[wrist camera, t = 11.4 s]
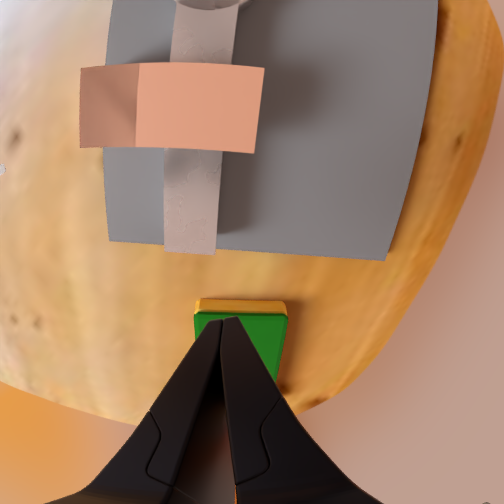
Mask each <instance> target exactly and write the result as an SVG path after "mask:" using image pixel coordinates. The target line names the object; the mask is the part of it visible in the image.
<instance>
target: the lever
mask: <svg viewBox="0 0 504 504" xmlns="http://www.w3.org/2000/svg"><path fill="white" fill-rule="evenodd" d="M174 1H175V3H176V4H177V5H176V13H175V20H174V28H173V36H172V45H171V54H170V62H185V63H213V64H229V65H232V60H233V51H234V43H235V35H236V27H237V19H238V13H239V12H240V11H242V10H244V9H245V8H246V7H248V6H249V5H250V4H251V3H252V2H253V1H254V0H174ZM222 161H223V151H218V150H203V149H185V148H164V248H165V252H179V253H193V254H207V255H215V252H216V242H217V229H218V214H219V200H220V186H221V174H222Z"/></svg>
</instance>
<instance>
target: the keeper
mask: <svg viewBox="0 0 504 504" xmlns="http://www.w3.org/2000/svg"><path fill="white" fill-rule="evenodd" d="M264 69H265V68H260V67H251V66H241V65H229V64H213V63H185V62H160V63H132V64H117V65H105V66H95V67H87V68H81V79H80V113H79V124H80V148H89V147H158V148H185V149H203V150H218V151H231V152H243V153H253V154H254V150H255V142H256V134H257V125H258V117H259V109H260V101H261V93H262V85H263V77H264Z"/></svg>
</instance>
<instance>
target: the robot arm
mask: <svg viewBox="0 0 504 504" xmlns="http://www.w3.org/2000/svg"><path fill="white" fill-rule="evenodd" d="M149 410H150V411H148V412H147V413H146V415H145V416H144V418H143V419H142V421H141V422H140V424H139V425H138V426H137V428H136V429H135V431H134V432H133V434H132V435H131V437H129V439H128V440H127V441H126V443H125V444H124V445H123V446H122V447H121V449H120V450H119V451H118V452H117V453H116V455H115V456H114V457H113V458H112V459H111V460H110V461H109V463H108V464H107V465H106V466H105V467H104V468H103V470H102V471H101V472H100V473H99V474H98V475H97V476H96V478H95V479H94V480H93V481H92V482H91V483H90V484H89V485H87V486H86V487H85V488H84V489H82V490H81V491H79V492H77V493H75V494H72V495H69V496H66V497H63V498H61V499H57V500H54V501H51V502H48V503H45V504H234V503H235V501H234V500H235V485H236V494H237V495H236V496H237V504H383V503H382V502H380V501H378V500H377V499H376V498H374V497H373V496H371V495H369V494H368V493H367V492H365V491H364V490H362V489H361V488H359V487H358V486H357V485H356V484H355V483H353V482H352V481H351V480H350V479H349V478H348V477H347V476H346V475H345V474H344V473H343V472H342V471H341V470H340V469H339V468H338V467H337V465H336V464H335V463H334V462H333V461H332V460H331V459H330V458H329V457H328V455H327V454H326V453H325V452H324V451H323V450H322V449H321V448H320V447H319V445H318V444H317V443H316V442H315V441H314V440H313V439H312V437H311V436H310V435H309V434H308V432H307V431H306V430H305V429H304V427H303V426H302V425H301V423H300V422H299V421H298V419H297V418H296V416H295V414H294V413H293V411H292V410H291V408H290V407H289V405H288V403H287V401H286V400H285V398H284V397H283V395H282V393H281V392H280V390H279V388H278V386H277V385H276V383H275V381H274V379H273V378H272V376H271V374H270V372H269V371H268V369H267V367H266V365H265V364H264V362H263V360H262V358H261V357H260V355H259V353H258V351H257V349H256V348H255V346H254V344H253V342H252V340H251V339H250V337H249V335H248V333H247V331H246V330H245V328H244V326H243V324H242V322H241V320H240V319H239V317H238V316H232V317H227V318H224V320H223V319H215V320H210V321H208V322H207V324H206V325H205V327H204V328H203V330H202V331H201V333H200V334H199V336H198V337H197V339H196V340H195V342H194V343H193V345H192V346H191V348H190V349H189V351H188V352H187V354H186V355H185V357H184V358H183V360H182V361H181V363H180V364H179V366H178V367H177V369H176V370H175V372H174V373H173V375H172V376H171V378H170V379H169V381H168V382H167V384H166V385H165V387H164V388H163V390H162V391H161V393H160V394H159V396H158V397H157V399H156V400H155V402H154V403H153V405H152V406H151V408H150V409H149ZM483 504H490V503H487V502H486V503H483Z"/></svg>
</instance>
